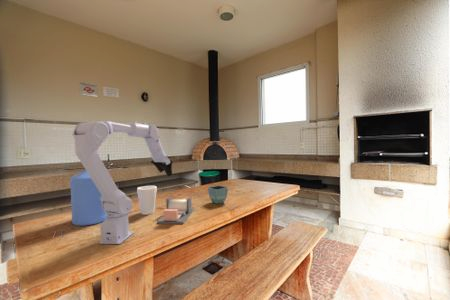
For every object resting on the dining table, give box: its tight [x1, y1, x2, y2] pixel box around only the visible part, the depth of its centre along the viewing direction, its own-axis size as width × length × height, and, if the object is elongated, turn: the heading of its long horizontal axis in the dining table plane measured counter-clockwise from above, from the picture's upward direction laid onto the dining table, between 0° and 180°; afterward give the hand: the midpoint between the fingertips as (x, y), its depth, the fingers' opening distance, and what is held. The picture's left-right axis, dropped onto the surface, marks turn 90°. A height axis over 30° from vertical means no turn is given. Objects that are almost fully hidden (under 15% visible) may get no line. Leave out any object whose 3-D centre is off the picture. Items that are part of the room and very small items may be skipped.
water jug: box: [69, 169, 107, 227], centre depth 97 cm, size 16×16×28 cm
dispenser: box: [156, 196, 195, 225], centre depth 101 cm, size 20×12×8 cm, turn 174°
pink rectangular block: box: [162, 208, 183, 221], centre depth 96 cm, size 10×6×4 cm, turn 175°
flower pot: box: [207, 185, 229, 205], centre depth 122 cm, size 9×9×9 cm
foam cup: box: [136, 185, 158, 216], centre depth 106 cm, size 10×9×13 cm
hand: (166, 173), depth 102 cm, fingers open, 7 cm apart
